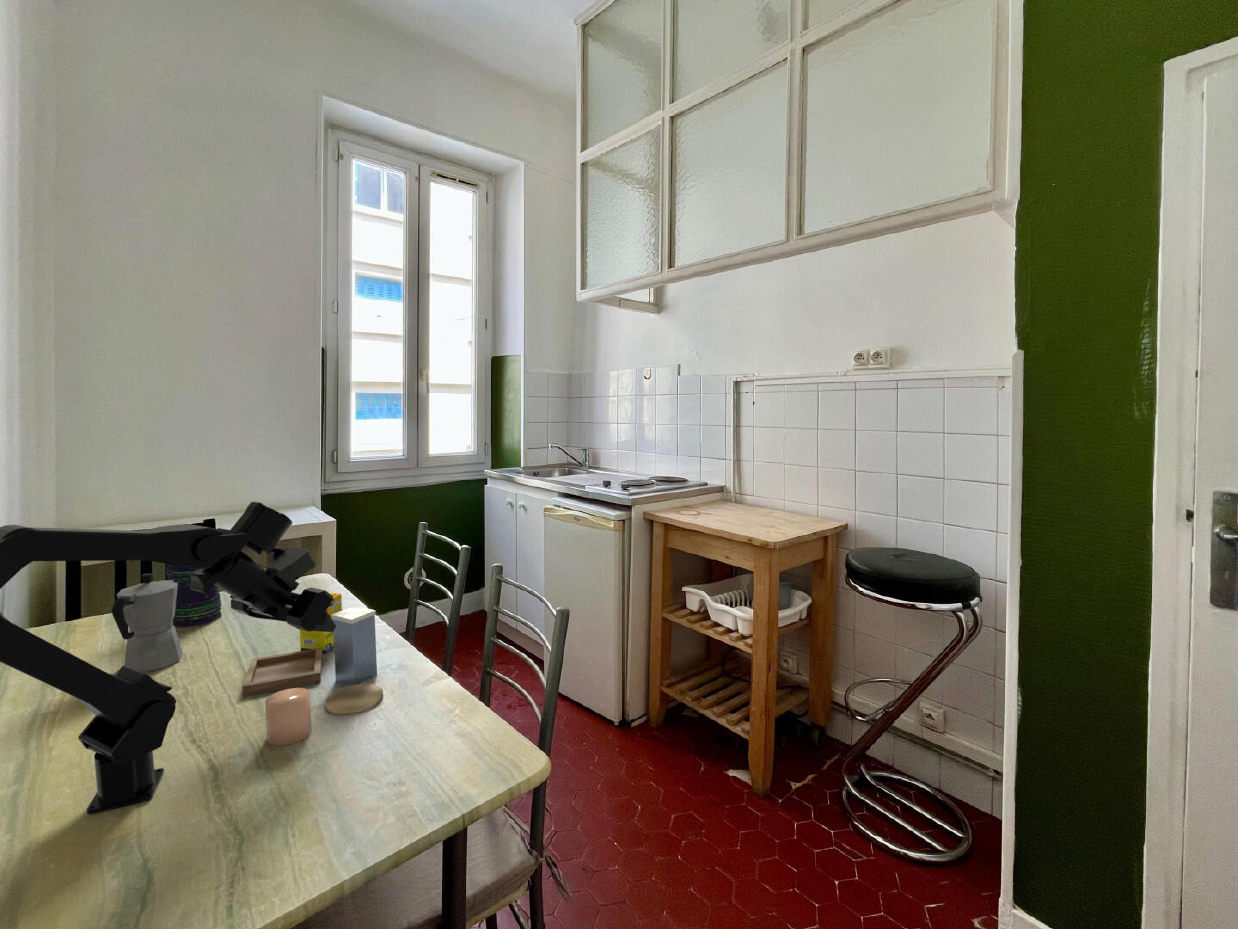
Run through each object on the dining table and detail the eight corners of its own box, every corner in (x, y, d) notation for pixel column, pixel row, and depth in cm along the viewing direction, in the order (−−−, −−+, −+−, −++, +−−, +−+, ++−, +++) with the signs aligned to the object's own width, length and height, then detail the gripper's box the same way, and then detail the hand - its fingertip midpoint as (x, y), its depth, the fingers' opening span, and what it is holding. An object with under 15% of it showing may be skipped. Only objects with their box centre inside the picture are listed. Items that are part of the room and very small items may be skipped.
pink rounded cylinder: (311, 739, 88) (310, 701, 87) (265, 749, 85) (263, 710, 84) (311, 720, 93) (309, 684, 93) (268, 730, 90) (266, 693, 90)
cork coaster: (385, 707, 97) (384, 702, 97) (325, 719, 93) (325, 714, 93) (381, 683, 105) (381, 679, 105) (326, 694, 101) (325, 690, 101)
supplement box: (325, 654, 118) (322, 602, 116) (299, 651, 119) (296, 600, 118) (344, 642, 123) (342, 593, 122) (320, 640, 125) (317, 591, 123)
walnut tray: (320, 682, 106) (320, 672, 106) (243, 696, 101) (242, 686, 100) (322, 656, 117) (321, 647, 116) (252, 668, 111) (251, 659, 111)
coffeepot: (152, 649, 120) (145, 564, 118) (200, 647, 120) (194, 563, 119) (92, 685, 104) (83, 588, 102) (148, 683, 105) (140, 587, 103)
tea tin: (354, 687, 104) (351, 619, 103) (334, 680, 106) (331, 614, 105) (377, 675, 109) (375, 610, 107) (358, 669, 111) (355, 606, 110)
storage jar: (230, 617, 138) (226, 556, 136) (181, 631, 129) (176, 565, 128) (210, 609, 143) (206, 550, 141) (163, 622, 135) (157, 559, 133)
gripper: (319, 542, 89) (380, 590, 100) (244, 529, 97) (308, 576, 108) (272, 607, 83) (342, 652, 94) (196, 588, 91) (269, 631, 102)
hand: (315, 624), depth 99 cm, fingers open, 9 cm apart
